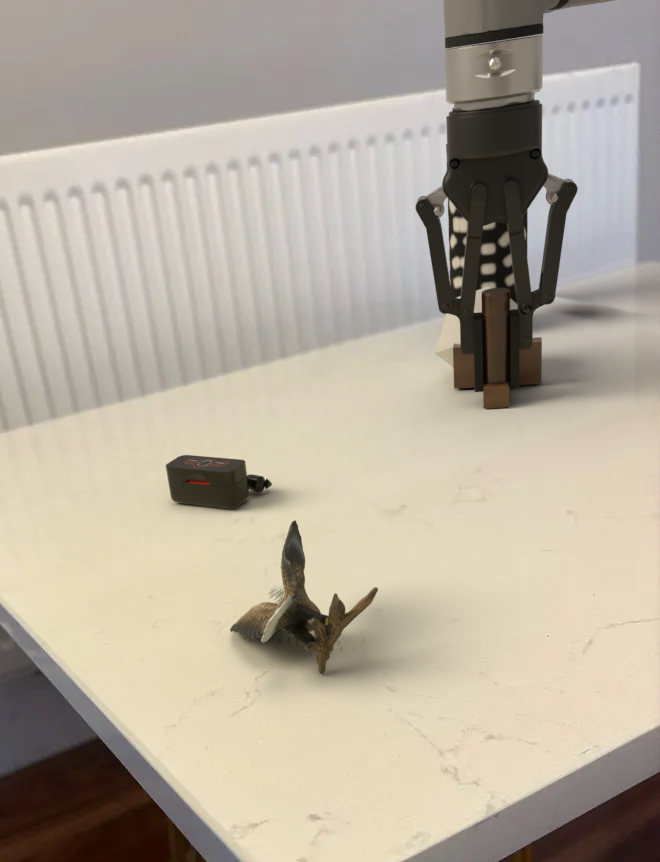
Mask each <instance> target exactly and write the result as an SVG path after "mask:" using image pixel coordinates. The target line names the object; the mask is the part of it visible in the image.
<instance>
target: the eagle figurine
mask: <svg viewBox="0 0 660 862" xmlns="http://www.w3.org/2000/svg"><path fill="white" fill-rule="evenodd" d="M302 541H303V539H302V535H301V533H300V530H299V525H298V523H297V520H296V519H295V520H292V522H291V523H290V525H289V528H288V532H287V534H286V537H285V541H284V544H283V547H282V552H281V559H280V572H281V581H282V586H283V589H284V593H283V597H282V598H281V600H280V601H279V602H278V603H276V602H269V601H267V602H260V603H258V604H256V605H255V604H254V605H253V606H252V607H251V608H249V610H248V611H247V612H246V613H244V614H243V615H242V616H241V617H240V618H239V619H238V620H237V621H236V622H235V623H234V624H232V625H231V627H230V630H229V631H230V632H231V633H233V632H234V633H238V634H239V635H241V637H243V638H244V640H248V641H249V640H253V641H256V640H257V639H260V641H261V643H262V644H264V643H266V642H268V640H270V639H271V637H272V636H273V635H274V634H276V632H277V630H282V631H284V632H288V633H289V634H290V635H292V637H293V638H294V639H295V640H296V641H297V642H298V643H301V644H302V645H304V646H305V647H304V649H305V651H307V652H311V651H315V652H317V654H316V656H315V661H316V664H317V668H318V673H319V675H320V674H322V675H324V674H325V672H326V666H327V661H329V660H330V658H331V653H332V652H333V651H334V645H335V644H336V643H337V641H338V639H339V638H340V637H341V636H342V633H343V631H344V629H346V627H348V626H349V625H350V624H351V623H352V622H353V621H354V620H355V619H356V618H357V617H358V616H359V615H360V614H361V613H363V612H364V611H365V610H366V609H367V608H368V607H370V605H371V604H372V602H373V601H374V599H375V597H376V595H377V593H378V591H379V588H378V587H376V586H374V587H373V588H372V589H371V590H370V591H369V592H368V593H367V595H365V596H364V597H362V598H361V599H360V600H359V601H358V602H357V603H356V604H355V605H354V606H353V607H352V608H351V609H350V610H349V611H347V612H346V606H345V603H344V602H343V601H342V600H341V599H340V598H339V595H338V593H336V592H334V593H333V595H332V599H331V603H330V606H329V608H328V615H327V614H323V613H322V612H321V610H320V608H319V607H318V606H317V605H316V604H315V603H314V602H313V601H312V600H311V599H310V597H309V595H308V593H307V591H306V586H305V584H306V576H305V568H306V555H305V552H304V546H303V542H302ZM311 632H313V633H314V635H313V634H312V633H311Z"/></svg>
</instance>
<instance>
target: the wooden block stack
mask: <svg viewBox="0 0 660 862" xmlns="http://www.w3.org/2000/svg"><path fill="white" fill-rule="evenodd" d="M482 327H483V392H482V402H483V409H498V408H509V407H510V401H511V390H510V290H509V289H507V288H491V289H487V290H484V291H482ZM542 360H543V338H542V336H540V337H539V336H538V337H532V345H531V348H530V349H523V350H519V386H525V385H526V386H527V385H542V374H543V373H542V372H543V371H542V370H543V369H542V365H543V361H542ZM452 367H453V370H452V371H453V389H470V388H471V389H472V388H475V386H474V354H463V353H462V351H461V345H459V344H455V343H454V345H453V366H452Z"/></svg>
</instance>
